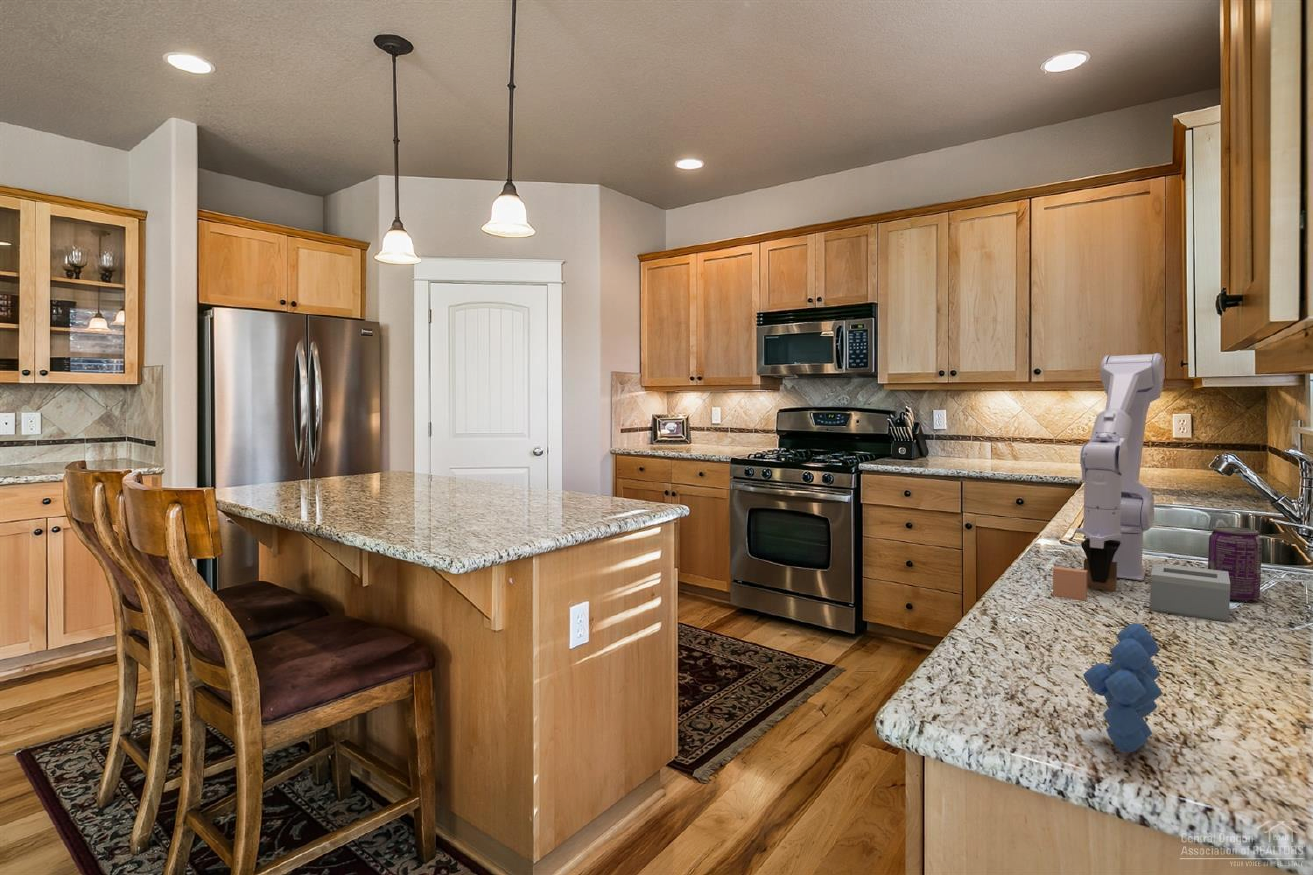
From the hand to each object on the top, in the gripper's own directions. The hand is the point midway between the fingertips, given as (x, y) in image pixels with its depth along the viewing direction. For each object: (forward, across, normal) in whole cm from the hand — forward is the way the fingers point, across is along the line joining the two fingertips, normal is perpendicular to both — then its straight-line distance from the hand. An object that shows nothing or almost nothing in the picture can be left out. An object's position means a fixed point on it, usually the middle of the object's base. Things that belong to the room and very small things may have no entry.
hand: (1099, 580), depth 126 cm
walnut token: (+1, 0, 0) cm, 1 cm away
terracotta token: (+2, +10, -4) cm, 11 cm away
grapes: (+2, +66, +8) cm, 67 cm away
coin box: (+1, +6, +13) cm, 14 cm away
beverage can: (+2, -7, +19) cm, 20 cm away
